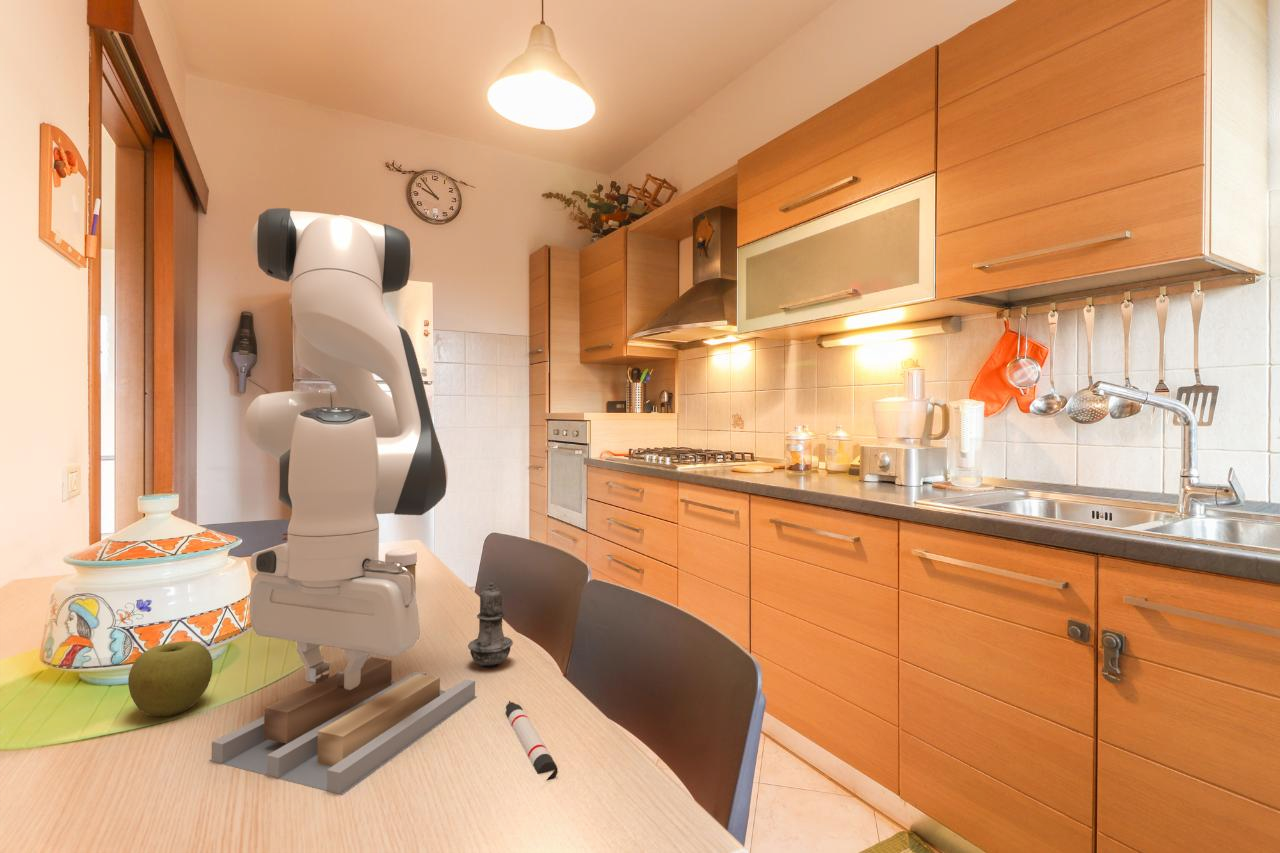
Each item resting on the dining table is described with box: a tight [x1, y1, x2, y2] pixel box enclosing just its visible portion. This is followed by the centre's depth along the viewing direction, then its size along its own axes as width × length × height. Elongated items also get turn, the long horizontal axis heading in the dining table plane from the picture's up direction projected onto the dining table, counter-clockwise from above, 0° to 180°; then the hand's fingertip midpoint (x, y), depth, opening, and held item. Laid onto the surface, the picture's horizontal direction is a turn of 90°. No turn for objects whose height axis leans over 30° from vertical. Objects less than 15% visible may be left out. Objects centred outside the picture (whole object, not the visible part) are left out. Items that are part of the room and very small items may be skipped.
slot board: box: [208, 670, 478, 796], centre depth 63 cm, size 16×20×3 cm
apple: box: [127, 640, 214, 717], centre depth 68 cm, size 8×8×7 cm
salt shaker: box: [467, 580, 514, 669], centre depth 80 cm, size 6×6×12 cm
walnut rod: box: [263, 656, 393, 744], centre depth 64 cm, size 3×14×3 cm, turn 161°
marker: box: [504, 700, 559, 781], centre depth 61 cm, size 15×2×2 cm, turn 26°
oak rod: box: [317, 674, 441, 767], centre depth 62 cm, size 3×14×3 cm, turn 161°
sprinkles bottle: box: [384, 548, 418, 594], centre depth 92 cm, size 5×5×14 cm
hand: (332, 684), depth 64 cm, fingers closed on walnut rod, 3 cm apart
